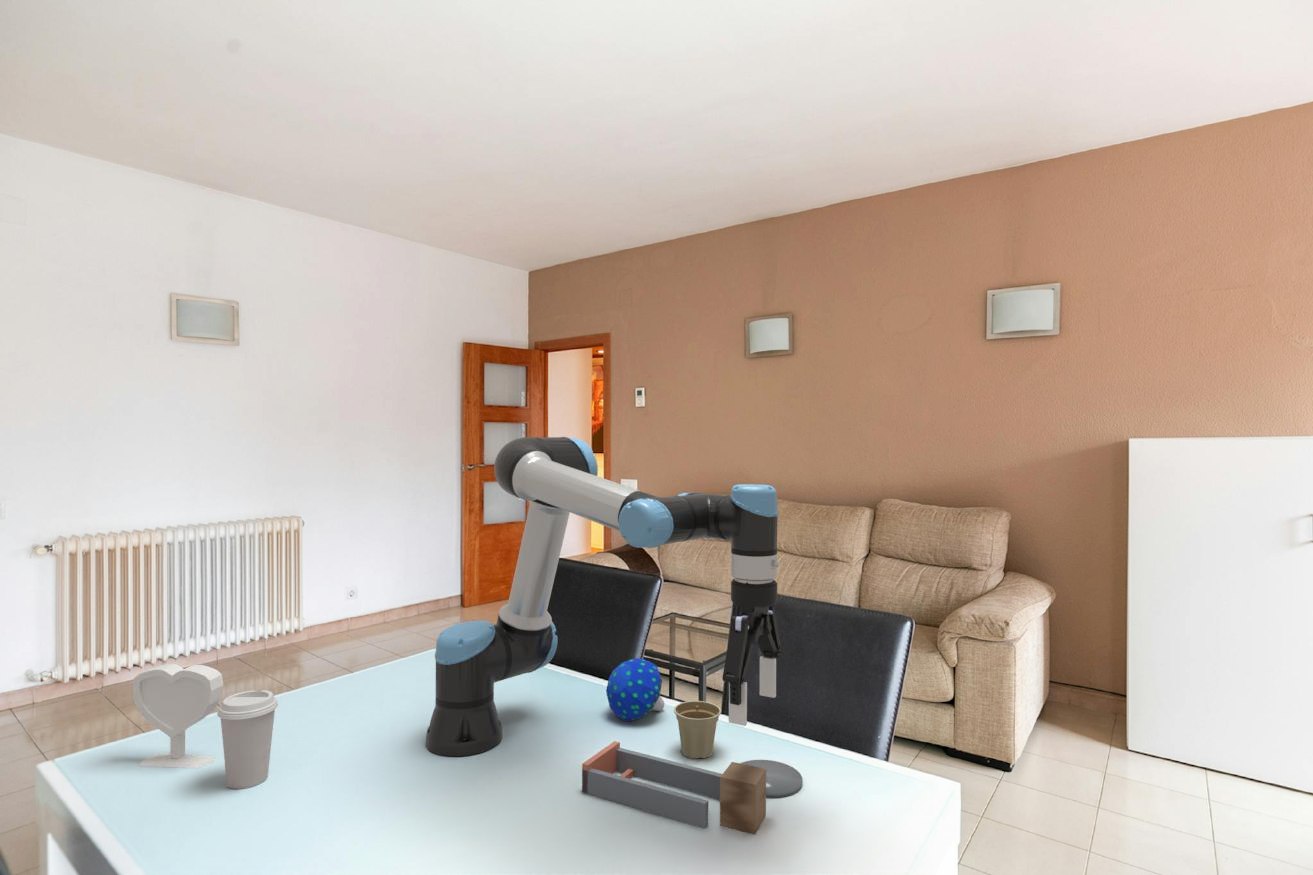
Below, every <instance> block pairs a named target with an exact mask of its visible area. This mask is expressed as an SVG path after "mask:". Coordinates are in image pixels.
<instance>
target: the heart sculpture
mask: <svg viewBox="0 0 1313 875" xmlns="http://www.w3.org/2000/svg"><path fill="white" fill-rule="evenodd" d="M223 690H224V680H223V674H222V673H221V672H220V671H219V670H217V669H215V668H213V667H210V666H207V665H204V664H193V665H190V666H188V667H186V668H183V667H182V666H180V665H178V664H176V663H166V664H162V665H158V666H156V667H153V668H150V669H147V670H145V671H143V672H141V673H138V675H137V676H135V677H133V683H132V696H133V702H134V705H135V707H136V708H137V711H139V713H140V715H141V716H142V717H143V718H144V719H145V720H146V721H147V722H148V723H149V724H150V725H152V726H153V727H155V728H156V729H157V730H158V731H159V730H160V732H163V733H164V734H165V735H167V736H168V737H169V740H170V745H169V746H170V748H169V749H170V752H169V754H168V753H167V754H166V753H163V754H162V753H157V754H155V755H151V756H149V757H146V758H144V759H143V760H141V762H139V764H138V766H139V767H157V768H158V767H159V768H184V769H186V768H187V769H188V768H190V769H199V768H202V767H204V766H207V765H209V764H211V763H213V762H214V761H215V759H216V755H199V754H198V755H195V754H194V755H192V754H186V730H188V729H190V728H191V727H192V726H193V725H195V724H197V723H198V722H200V721H202V720H204V719H205V718H206V717H207V716H209V715H210V714H211V713H212V712H214V711H215V710H216V707H217V706H218V704H219V703H220V701H221V699H222V696H223Z"/></svg>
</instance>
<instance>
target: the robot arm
mask: <svg viewBox="0 0 1313 875" xmlns="http://www.w3.org/2000/svg"><path fill="white" fill-rule="evenodd" d="M493 465H494V466H493V467H494V468H493V471H494V477H495V479H496V482H497V483H498V485H499V486H500V488H501V489H502V490H504V491H505V492H506V493H507V494H509V495H510V496H511V495H512V496H513V497H516V498H518V499H521V500H524V501H526V502H528V503H529V506H528V510H527V515H526V519H525V520H526V521H525V525H524V530H523V534H522V539H521V544H520V546H519V547H520V548H519V551H518V552H519V553H518V557H517V561H516V562H517V563H516V566H515V571H514V575H513V580H512V584H511V588H510V594H509V599H508V602H507V603H506V604H504V605H502V606H501V607H500V608H499V611H498V616H497V618H496V619H497V620H496V623H495V624H493V623H492V622H491V621H487V620H472V621H463V622H459V623H456V624H453V625H450V626H449V627H446V628H445V629H444V630H442V631H441V633H440V634H438V637H437V639H436V646H435V653H434V659H435V702H434V703H435V704H434V705H435V706H434V709H433V712H432V715H431V719H430V722H429V726H428V727H427V730H426V734H425V746H426V748H427V750H428V751H430V752H431V753H433V754H436V755H439V756H447V757H463V756H464V757H465V756H471V755H475V754H480V753H483V752H486V751H488V750H491V749H493V748H494V747H496V746H497V745H499V744H500V743H501V741H502V738H503V725H502V722H501V720H499V714H498V711H497V710H498V709H497V708H496V704H495V697H494V695H495V693H494V692H495V691H494V690H495V683H497V682H501V681H504V680H507V679H510V678H511V679H512V678H514V677H517V676H521V675H523V674H527V673H528V674H529V673H533V672H536V671H537V670H539V669H542V668H544V667H545V666H546V665H548V664H549V663H550V662H551V661H552V659H553V658H554V656H555V654H556V652H557V647H558V635H556V633H557V628H556V625H555V623H554V621H552V620H553V618H552V616H551V614H550V613H549V611H548V607H549V603H550V599H551V595H552V590H553V586H554V582H555V577H556V574H557V570H558V564H559V560H560V557H561V550H562V547H563V542H564V539H565V535H566V529H567V526H568V521H569V517H570V513H571V514H573V515H576V516H578V517H581V518H584V519H587V520H589V521H591V522H593V523H596V524H599V525H602V526H603V527H604V526H605V527H607V528H609V529H611V530H613V531H617V532H619V533H620V535H621V537H622V539H624V541H626V544H627V545H630V546H631V547H633V548H637V549H639V548H640V549H641V548H643V549H644V548H647V549H653V548H657V547H660V546H664V545H670V544H675V543H680V542H687V541H694V540H701V539H716V540H724V541H730V544H731V545H730V547H731V548H730V550H731V551H730V575H731V577H732V578H733V579H732V580H731V582H730V599H731V600H730V601H731V602H732V603H733V604H734V605H735V606H736V605H738V606H739V607H740V610H739V616H737V615H732V616H731V619H730V633H729V637H728V638H729V639H728V644H727V650H726V654H725V655H726V656H725V662H724V666H723V674H722V678H721V679H722V681H723V682H727V683H728V723H729V724H734V725H739V726H744V727H745V726H747V724H748V719H747V718H748V682H747V681H745V679H746V676H747V673H748V672H747V671H748V668H749V663H750V661H751V657H752V653H753V648H754V646H755V645H756V644H758V647H759V650H760V653H761V655H762V656H759V696H761V697H762V696H763V697H766V698H767V697H768V698H774V699H775V698H776V697H777V658H778V659H781V658H782V653H783V652H782V650H781V648H782V645H781V639H780V633H779V628H778V623H777V616H776V607H775V606H776V604H777V602H778V583H777V581H776V580H775V579H777V576H778V567H780V566H781V562H780V560H778V518H779V515H780V514H779V508H778V492H777V490H776V488H775V487H774V486H772V485H769V484H760V483H759V484H752V483H749V484H747V483H746V484H745V483H743V484H735V485H733V486H732V488H731V491H730V492H731V494H730V495H727V494H726V495H724V494H715V493H714V494H712V493H701V492H697V491H696V492H683V493H679V494H678V495H677V496H675V495H674V496H666V497H665V496H664V497H663V496H662V497H661V496H657V495H653V494H651V493H648V492H644V491H642V490H639V489H635V488H633V487H629V486H628V485H624V484H621V483H618V482H615V481H612V480H609V479H606V478H603V477H601V476H598V473H599V472H598V471H599V468H598V462H597V458H596V456H595V455H594V451H593V449H592V447H591V446H590V445H589V444H588V443H587V442H585V441H584V440H582V439H580V438H575V437H568V436H558V437H557V436H556V437H554V436H553V437H550V436H548V437H545V436H544V437H543V436H542V437H541V436H540V437H533V436H532V437H530V436H527V437H526V436H523V437H519V438H518V437H517V438H515V439H513V440H510V441H509V442H507V443H506V444H504V446H503V447H502V448H501V449H500V450H499V452H498V453H497V455H496V457H495V460H494V464H493Z"/></svg>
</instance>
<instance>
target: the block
mask: <svg viewBox="0 0 1313 875" xmlns="http://www.w3.org/2000/svg"><path fill="white" fill-rule="evenodd" d="M740 763H741V762H740ZM740 763H739V762H735V761H731V762H730V763H729V764H728V766H727V767H726V768H725V770H724V772H723V773H721V774H722V775H721V777H720V800H719V827H722V828H727V829H731V830H734V831H738V832H742V833H746V834H749V835H753V836H756V835H757V833H758V832H759V830H760V828H761V826H762V824H763V822H764V821H765V819H766V818H767V798H766V769H764V768H759V767H754V766H750V765H745V764H740Z"/></svg>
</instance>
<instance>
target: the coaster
mask: <svg viewBox="0 0 1313 875" xmlns="http://www.w3.org/2000/svg"><path fill="white" fill-rule="evenodd" d="M740 764H745V765H750V766H754V767H759V768H764V769H766V799H780V798H786V797H789V796H793V795H795V794H797V793H798V792H799V791H800V790H801V789H802V787H803V776H802V775H801V773H800V772H799V771H798V769H796V768H794V767H793V766H790V765H789V764H786V763H783V762H780V761H776V760H771V759H751V760H746V761H743V762H740Z"/></svg>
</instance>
